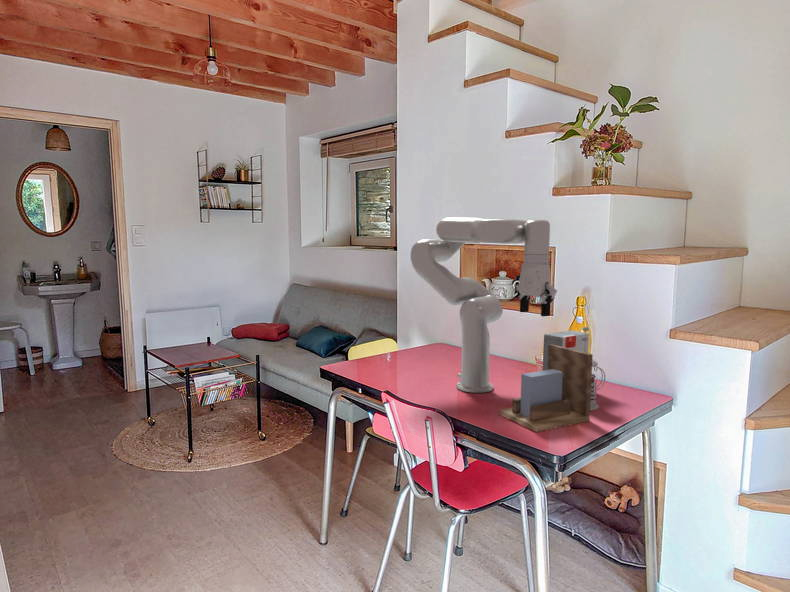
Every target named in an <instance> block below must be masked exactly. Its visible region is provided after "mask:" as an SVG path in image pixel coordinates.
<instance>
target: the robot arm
mask: <svg viewBox="0 0 790 592" xmlns="http://www.w3.org/2000/svg"><path fill="white" fill-rule="evenodd" d="M435 230H436V235H437V236H438V238H427V239H426V238H425V239H421V240H418V241H416V242H415V243H414V244H413V245H412V246H411V249H410V261H411V265H412V267H413V269H414V271H415V273H416V274H417V275H418V276H420V278H422V279H423V281H425V282H426V283H427V284H428V285H429V286H430V287H432V289H434V291H435V292H437V294H439V295H440V296H441V297H442V298H443V299H444V300H445V301H446V302H447V303H448V304H450V305H451V306H460V307H459V320H460V327H461V372H459V373H457V375H456V376H457V377H458V378H460V381H458V382H457V383H456V388H457V389H458V390H460V391H462V392H464V393H465V392H466V393H475V394H476V393H478V394H480V393H482V394H483V393H488V392H491V391H493V389H494V385H493V383H491V382H490V349H491V348H490V347H491V345H490V340H491V339H490V332H489V328H488V324H491V323H494V322H496V321H498V320H499V319H501V317H502V315H503V310H504V309H503V304H502V302H501V301H500V300H499V299H498V297H497V296H495V295H494V294H493V293H492V292H491V291H490V290H489V289H487V287H485V286H484V285H483V284H482V283H481V282H480V281H478V280H477V279H475V278H472V277H457V275H454V273H453V272H451V271H450V270H449V269H448V268H446V267H445V266H444V265H442V264H440V263H441V262H442V263H443V262H446V261H448V260H450V259H451V258H452V257H453V256H454V255H455V254H456V253H457V252H458V251H459V250H460V249H461V248H462V247H463V246H464V245H465V244H468V243H469V244H480V243H481V244H482V243H484V244H503V245H504V244H507V245H508V244H524V248H523V249H524V250H523V251H524V252H523V253H524V256H523V263H522V265H521V268H520V273H519V275H520V276H519V282H518V284H516V285H515V288H516V292H517V293H516V294H517V295H518V299H519V300H520V301H519V312H520V313H528V312H529V311H530V310H529V308H530V299H528V298H529V297H533V298H534V297H535V298H538V297H539V298H540V299H541V301H542V302H541V305H540V316H541V317H550V316H551V304H553V301H554V300H555V296H556V295H557V291H558V290H557V289H556V288H555V287H554V286H552V274H551V266H550V264H549V261H550V235H551V223H550V221H548V220H545V219H532V220H524V219H523V220H522V219H502V218H500V219H489V218H488V219H487V218H485V219H484V218H480V217H445V218H443V219H441V220H439V222H438V223H437V225H436V229H435Z"/></svg>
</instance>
